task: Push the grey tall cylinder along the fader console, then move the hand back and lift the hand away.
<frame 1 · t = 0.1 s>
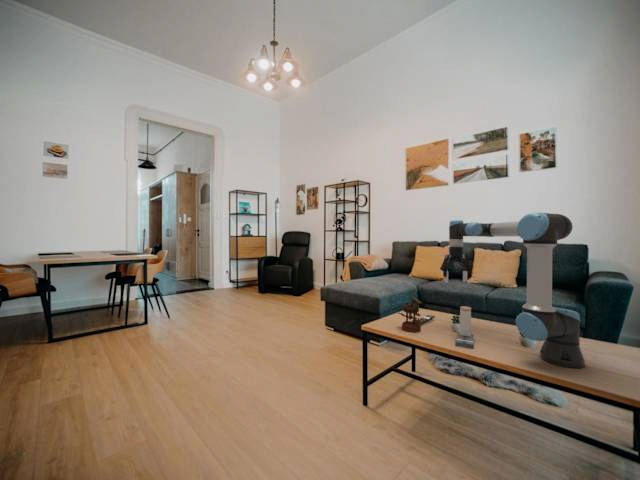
hand: (455, 282, 169), 28 cm above the table, tool pointing down, fingers open, 13 cm apart
music box: (410, 329, 167), on the table
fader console: (464, 341, 148), on the table
grey tall cylinder: (465, 320, 152), point 10 cm above the table, slide at 0.0 cm
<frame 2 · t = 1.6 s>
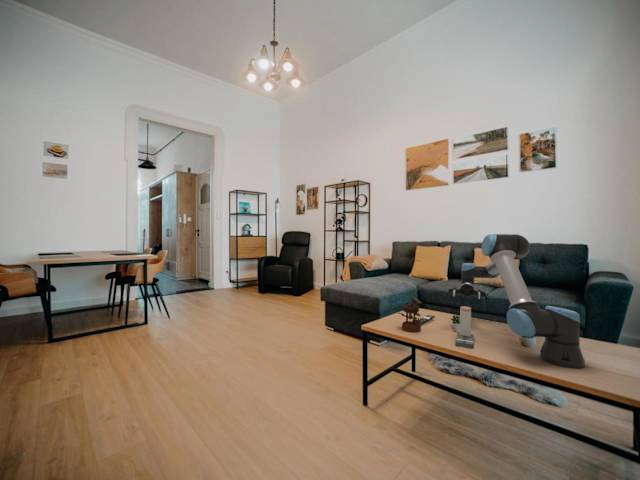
hand: (466, 295, 159), 22 cm above the table, tool horizontal, fingers open, 12 cm apart
nothing on the table moved.
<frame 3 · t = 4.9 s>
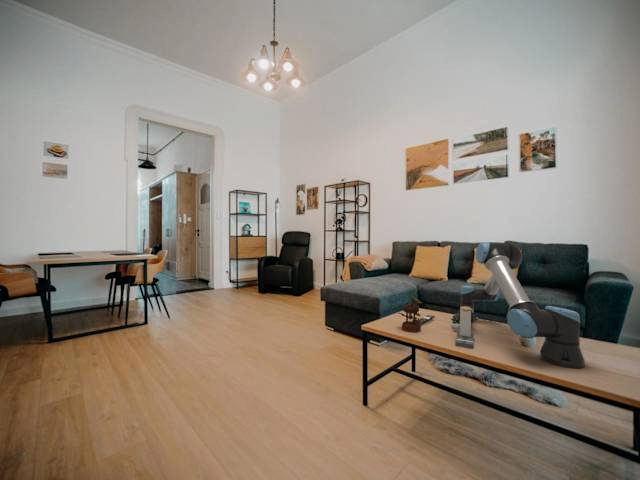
hand: (464, 323, 154), 8 cm above the table, tool horizontal, fingers closed
grey tall cylinder: (465, 321, 152), point 10 cm above the table, slide at 0.5 cm, touching gripper
everything else where it was.
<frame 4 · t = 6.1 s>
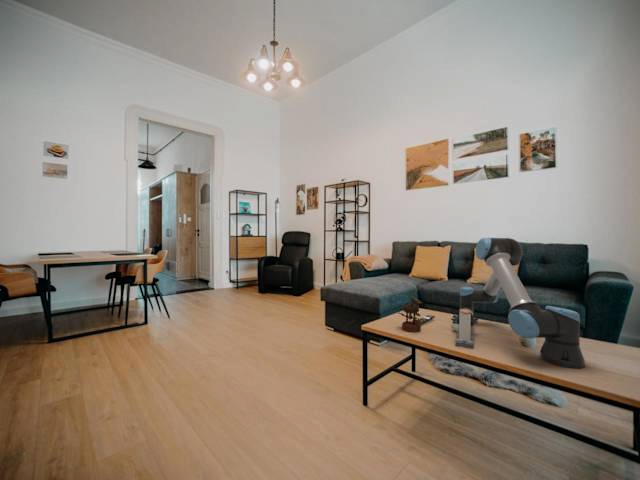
hand: (464, 326, 148), 8 cm above the table, tool horizontal, fingers closed
grey tall cylinder: (465, 324, 146), point 10 cm above the table, slide at 7.4 cm, touching gripper
everything else where it was.
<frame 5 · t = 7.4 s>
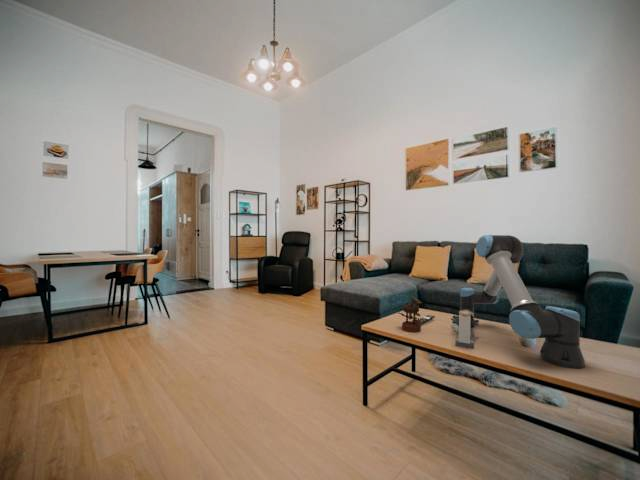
hand: (464, 328, 144), 8 cm above the table, tool horizontal, fingers closed
grey tall cylinder: (464, 326, 142), point 10 cm above the table, slide at 11.8 cm, touching gripper
everything else where it was.
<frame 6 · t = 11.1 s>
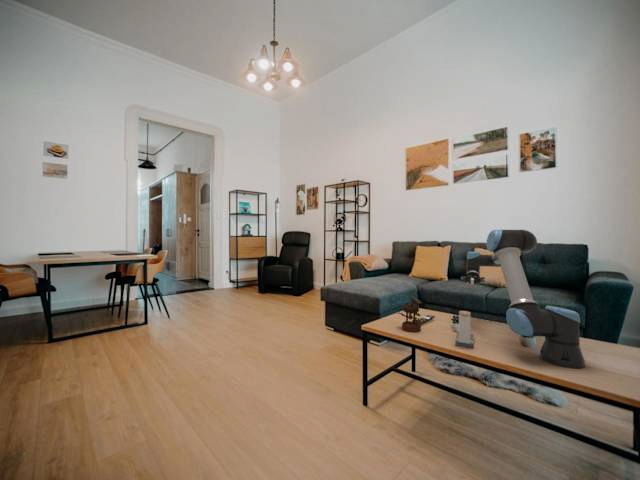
hand: (472, 281, 156), 30 cm above the table, tool horizontal, fingers closed
grey tall cylinder: (464, 326, 142), point 10 cm above the table, slide at 11.8 cm
everything else where it was.
at the end: grey tall cylinder slide at 11.8 cm; music box moved 0.2 cm from its start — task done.
